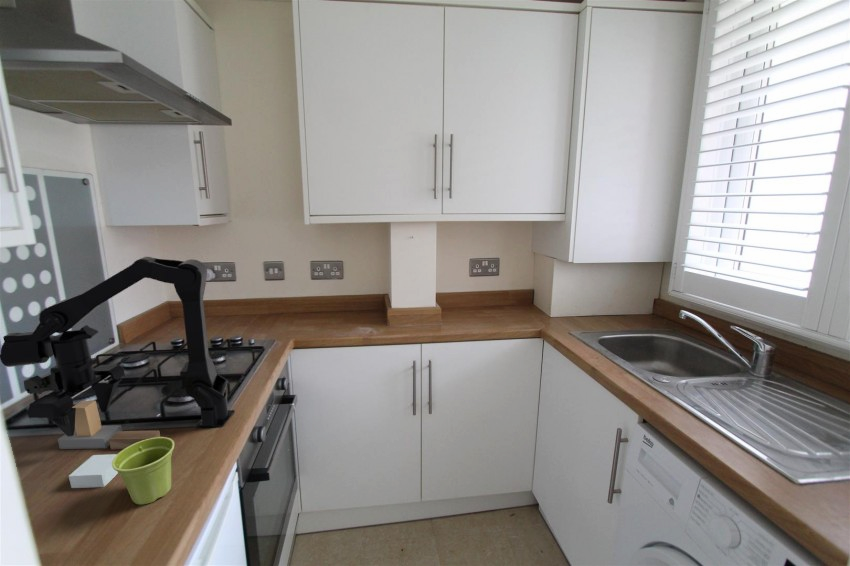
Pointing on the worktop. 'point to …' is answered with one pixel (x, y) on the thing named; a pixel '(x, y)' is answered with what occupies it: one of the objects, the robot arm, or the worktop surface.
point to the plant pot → (146, 468)
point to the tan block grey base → (88, 429)
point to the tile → (94, 472)
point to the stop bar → (130, 438)
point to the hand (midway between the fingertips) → (88, 423)
